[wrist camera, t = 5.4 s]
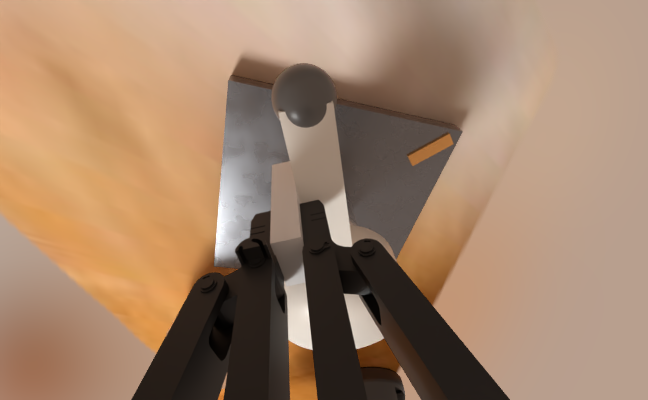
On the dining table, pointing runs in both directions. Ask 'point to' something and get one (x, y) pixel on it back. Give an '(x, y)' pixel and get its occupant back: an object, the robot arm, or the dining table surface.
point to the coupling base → (356, 158)
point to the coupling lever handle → (319, 185)
